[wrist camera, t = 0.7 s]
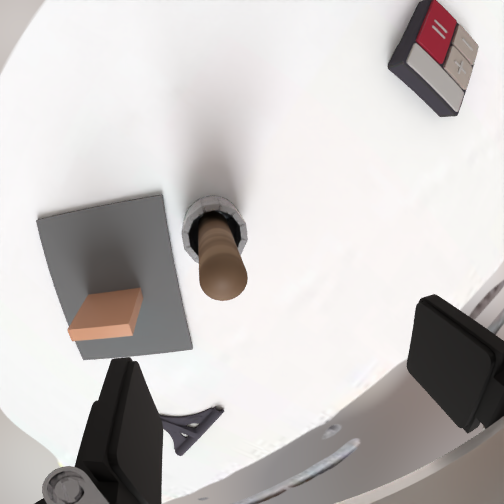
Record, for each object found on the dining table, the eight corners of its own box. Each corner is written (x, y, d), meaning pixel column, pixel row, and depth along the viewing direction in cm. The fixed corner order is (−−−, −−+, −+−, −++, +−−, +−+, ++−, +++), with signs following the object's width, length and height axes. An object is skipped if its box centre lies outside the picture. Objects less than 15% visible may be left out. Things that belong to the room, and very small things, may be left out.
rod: (196, 213, 33) (195, 260, 20) (225, 209, 34) (245, 253, 21) (200, 241, 34) (203, 303, 21) (229, 237, 35) (249, 296, 22)
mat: (37, 219, 31) (36, 220, 30) (162, 194, 33) (161, 195, 32) (84, 357, 38) (83, 359, 37) (192, 347, 40) (192, 349, 39)
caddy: (180, 200, 33) (177, 209, 29) (237, 192, 34) (243, 200, 30) (189, 253, 36) (188, 270, 31) (242, 245, 36) (249, 261, 32)
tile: (88, 294, 35) (67, 329, 27) (140, 287, 35) (128, 323, 28) (91, 306, 35) (72, 342, 28) (143, 299, 36) (133, 337, 29)
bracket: (135, 371, 41) (133, 384, 38) (223, 406, 45) (225, 419, 43) (106, 421, 43) (104, 433, 41) (183, 449, 48) (183, 461, 46)
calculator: (482, 46, 29) (461, 117, 31) (463, 50, 33) (440, 118, 35) (433, -7, 25) (405, 60, 28) (415, 2, 29) (385, 67, 32)
